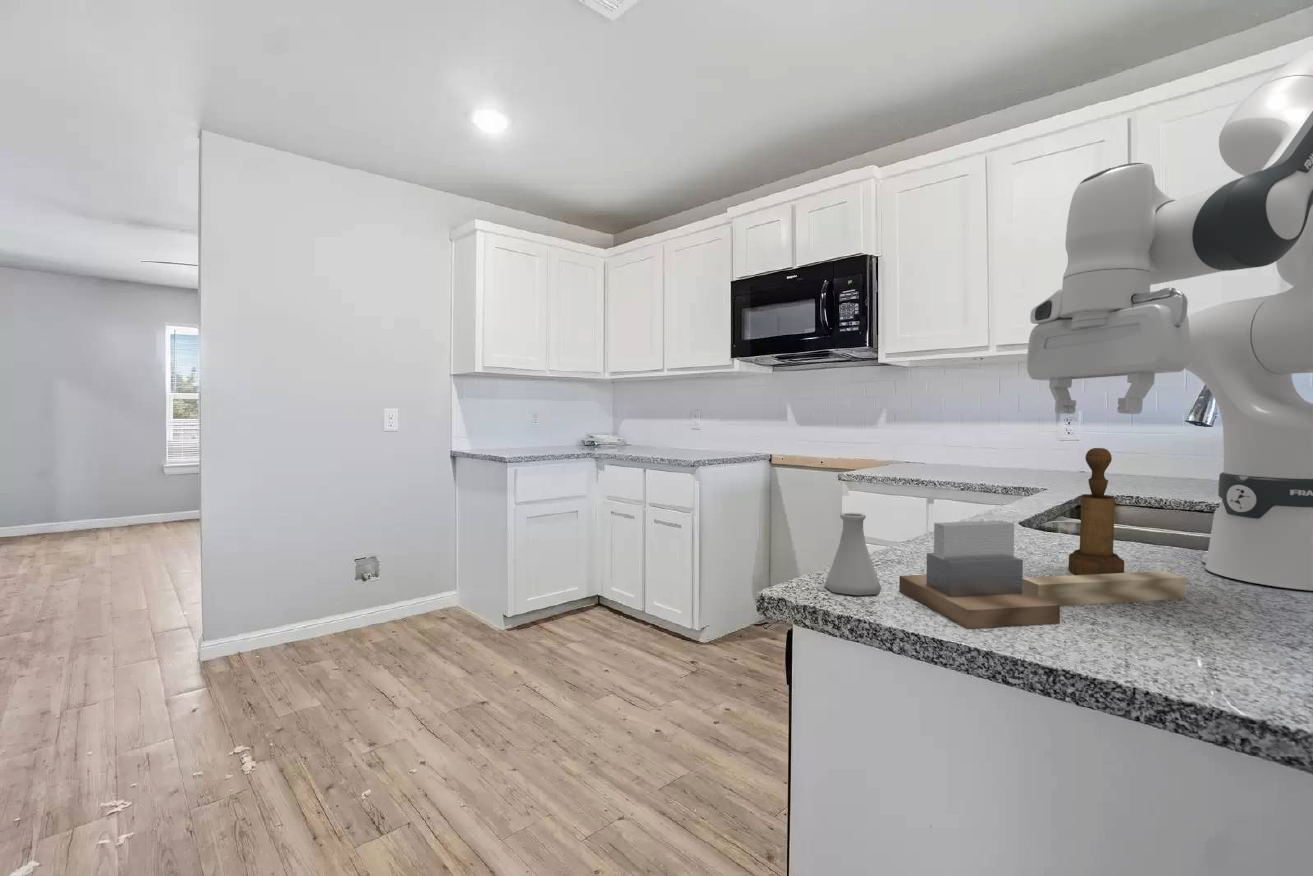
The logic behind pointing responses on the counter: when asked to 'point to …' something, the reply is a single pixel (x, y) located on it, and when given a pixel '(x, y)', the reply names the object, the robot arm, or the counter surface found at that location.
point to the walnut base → (983, 606)
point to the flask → (853, 561)
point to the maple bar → (1107, 587)
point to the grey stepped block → (974, 559)
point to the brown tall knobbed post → (1096, 523)
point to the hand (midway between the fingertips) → (1095, 413)
